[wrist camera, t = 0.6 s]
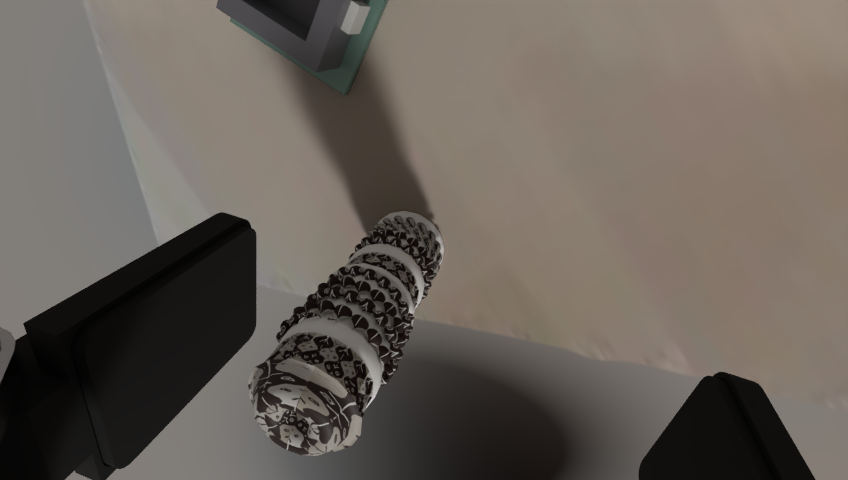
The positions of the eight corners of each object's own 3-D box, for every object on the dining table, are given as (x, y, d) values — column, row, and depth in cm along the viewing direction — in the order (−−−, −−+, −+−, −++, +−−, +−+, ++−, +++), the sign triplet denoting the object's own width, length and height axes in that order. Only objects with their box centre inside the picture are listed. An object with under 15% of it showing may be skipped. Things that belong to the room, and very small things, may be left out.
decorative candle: (380, 194, 46) (229, 344, 24) (459, 227, 45) (376, 413, 24) (360, 260, 51) (219, 436, 29) (432, 292, 50) (341, 496, 28)
